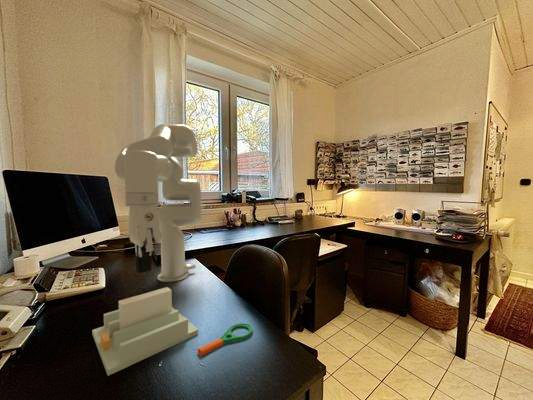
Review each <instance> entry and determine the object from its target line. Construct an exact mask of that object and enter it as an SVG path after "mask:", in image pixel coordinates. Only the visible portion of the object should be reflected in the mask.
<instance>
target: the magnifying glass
mask: <svg viewBox="0 0 533 400" xmlns="http://www.w3.org/2000/svg"><path fill="white" fill-rule="evenodd" d="M236 329H246V330H247V331H248V333H246V334H244V335H235V334H234V333H232V332H233V331H234V330H236ZM252 334H253V326H252V325H250V324H249V323H245V322H244V323H243V322H242V323H241V322H240V323H236V324H233V325H231V326H230V327H229V328H228V329H227V330H226V331H225V332H224V333H223V334H222V335H221V337H220V338H218V339H215V340H213V341H211V342H209V343H207V344H205V345H203V346H201V347H199V348H197V354H198V355H199V356H200V357H202V356H204V355H207V354H209V353H211V352H212V350H213V351H215V350H216V349H218V348H219V346H220V347H222V346H224V345H225V344H224V343H226V344H229V342H231V343H235V342H234V341H236V342H239V341H240V340H241V341H244V340H247V339H249V338H250V337H251V336H252ZM227 337H228V338H227ZM230 337H231V338H230ZM241 341H240V342H241ZM223 344H224V345H223ZM221 345H222V346H221ZM217 347H218V348H217ZM215 348H216V349H215ZM210 351H211V352H210Z"/></svg>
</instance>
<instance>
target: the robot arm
mask: <svg viewBox="0 0 533 400" xmlns="http://www.w3.org/2000/svg"><path fill="white" fill-rule="evenodd" d="M197 154H198V142H197V138H196V135H195V132H194V130H193V128H191V127H190V126H189V125H186V124H174V123H162V124H159V125H156V126H155V128H153V130H152V132H151V134H150V136H148V137H147V138H143V139H140V140H138V141H135V142H132V143H129V144H127V145H126V146H124V147H123V148H122V149H121V151H120V152H119V153H118V155H117V156H116V159H115V162H114V172H115V174H116V176H117V177H118V178H119V179H120V180H122V181H124V192H125V193H124V199H125V201H124V203H125V207H128V208H129V209H128V211H129V212H128V214H129V215H128V217H129V218H128V234H129V241H130V242H131V243H133V244H134V248H135V249H134V250H135V271H136V272H137V273H138V274H141V273H145V272H146V273H147V272H149V271H152V252H153V251H154V247H153V246H154V245H153V244H155V245H160V258H161V259H160V260H161V261H160V264H161V266H160V267H161V271H160V273H159V274H158V275H157V277H156V278H157V280H158V281H159V282H163V283H173V282H178V281H182V280H185V279H186V278H187V277H189V275H190V273H189V271H190V270H193V269H196V264H195V263H193V264H190V263H188V264H186V257H185V255H186V254H185V253H186V251H185V248H186V247H185V245H186V244H185V239H186V238H185V234H184V232H183V231H182V230H181V228H179V227H189V226H190V227H191V226H192V227H193V226H197V225H199V224H200V223H201V220H202V189H201V188H202V186H201V183H200V182H199V181H198V180H196V179H195V178H194V179H192V178H191V179H190V178H188V179H186V178H184V167H183V165H181V163H180V162H179V161H178V160H177V159H176V158H194V157H197ZM159 182H162V184H161V188H162V189H161V192H162V198H163V199H164V200H165V201H170V202H182V201H184V202H187V201H188V202H190V203H167V204H166V203H165V204H163V205H161V206H160V207H159V208H158V206H159V200H160V199H159Z"/></svg>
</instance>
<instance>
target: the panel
mask: <svg viewBox="0 0 533 400" xmlns="http://www.w3.org/2000/svg"><path fill="white" fill-rule="evenodd" d="M172 293H173V292H172V289H171V288H170V287H168V286H166V287H162V288H159V289H156V290H152V291H148V292H146V293H142V294H139V295H134V296H131V297H127V298H123V299H121V300H118V310H119V330H122V329H124V328H127V327H130V326H133V325H136V324H138V323H141V322H144V321H147V320H149V319H152V318H155V317H158V316H160V315H163V314H166V313H169V312H172V307H173V298H172Z"/></svg>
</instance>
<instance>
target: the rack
mask: <svg viewBox="0 0 533 400" xmlns="http://www.w3.org/2000/svg"><path fill="white" fill-rule="evenodd" d="M91 332H92V333H91V335H92V337H93V340H94V342H95V345H96V348H97V351H98V353H99V357H100V359H101V361H102V364H103V367H104V369H105V373H106V375H107V376H108V377H109V376H110V375H113V374H115V373H117V372H119V371H122V370H124V369H126V368H128V367H130V366H132V365H134V364H136V363H138V362H141V361H143V360H145V359H148V358H149V357H152V356H154V355H156V354H158V353H160V352H162V351H165V350H166V349H168V348H171V347H173V346H176V345H177V344H179V343H181V342H184V341H186V340H188V339H190V338H193V337H194V336H196V335H198V334H199V329H198V328H197V327H196V326H195V325H194V324H193V323H192V322H190V321H189V319H188V318H187V317H184V316H183V315H182V314H181V313H179V310H178V309H176V308H174V307H173V306H172V312H169V313H166V314H163V315H160V316H158V317H155V318H152V319H149V320H147V321H144V322H141V323H138V324H136V325H133V326H130V327H127V328H124V329H122V330H119V309H116V310H113V311H109V312H106V313H103V326H101V327H97V328H94V329H92V331H91Z"/></svg>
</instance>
